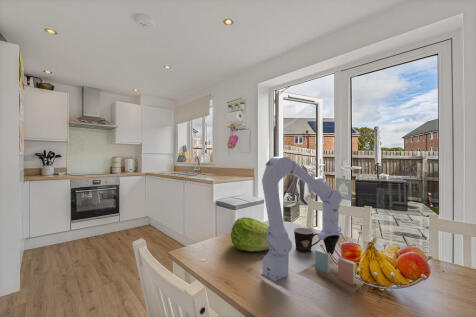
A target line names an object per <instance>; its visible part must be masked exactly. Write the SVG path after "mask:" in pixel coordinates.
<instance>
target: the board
mask: <svg viewBox="0 0 476 317" xmlns="http://www.w3.org/2000/svg"><path fill="white" fill-rule="evenodd" d="M331 260H332V259H331V258H330V270H329V273H325V272H323V271H320V270H318V269H316V268H315V263H313V264H312V265H310V266H308V267H307V268H305V269H303V270H301V271H299V272H297V274H299V275H301V276H303V277H305V278H307V279H309V280H311V281H313V282H315V283H317V284H319V285H321V286H323V287H324V288H327V289H329V290H331V291H332V292H335V293H336V294H337V293H338V294H339V295H341V296H343V297H345V298H347V299H349V298H350V297H351V296H352V295H353V294H354V293H355V292H357V291H358V290H359V289H360V288H361V287H362V286H363V285H364V284H365V283H362V282H360V281H358V280H356V279H355V283H354V284H353V285H352V284H350V283H347V282H345V281H343V280H341V279H338V267H337V266H336V265H335V264H334V263H333V262H332V261H331Z"/></svg>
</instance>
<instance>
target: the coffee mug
mask: <svg viewBox="0 0 476 317" xmlns="http://www.w3.org/2000/svg"><path fill="white" fill-rule="evenodd" d="M293 232H294V242H295V249H296V251H297V252H298V253H303V254H307V253H311V252H312V247H313V246H315V245H317V244H318V243H319V242H320V241H321V239H318V240H317V241H315V242H314V243H313V240H314V237H315V236H318V234H319V233H316V232H315V233H314V230H312V229H311V228H307V227H296V228H294V229H293Z"/></svg>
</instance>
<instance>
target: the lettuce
mask: <svg viewBox="0 0 476 317" xmlns="http://www.w3.org/2000/svg"><path fill="white" fill-rule="evenodd" d="M268 227H269V224H266V223H264V222H262V221H260V220H258V219H254V218H253V217H247V216H244V217H243V216H242V217H239V218H237V219H236V220H235V221H234V223H233V225H232V228H231V232H230V238H231V242H232V244H233V245H234V247H235V248H236V249H238V250H240V251H241V250H242V251H247V252H250V253H251V252H253V253H254V252H262V251H266V250H269V245H270V244H269V243H268V242H267V234H268V230H267V228H268Z"/></svg>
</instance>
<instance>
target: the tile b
mask: <svg viewBox="0 0 476 317" xmlns="http://www.w3.org/2000/svg"><path fill="white" fill-rule="evenodd" d="M337 259H338V260H337V262H338V279H341V280H343V281H345V282H347V283H350V284H352V285H353V284H354V283H355V269H356V262H354V261H352V260H349V259H346V258H343V257H339V258H337Z"/></svg>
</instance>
